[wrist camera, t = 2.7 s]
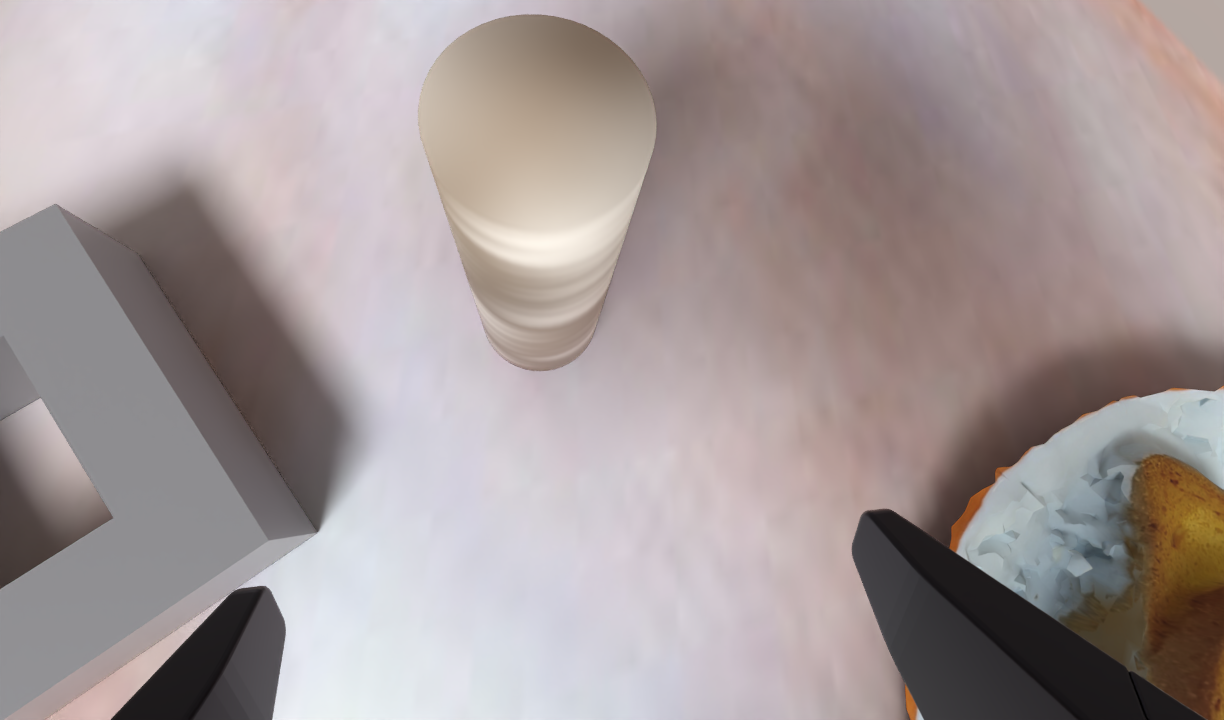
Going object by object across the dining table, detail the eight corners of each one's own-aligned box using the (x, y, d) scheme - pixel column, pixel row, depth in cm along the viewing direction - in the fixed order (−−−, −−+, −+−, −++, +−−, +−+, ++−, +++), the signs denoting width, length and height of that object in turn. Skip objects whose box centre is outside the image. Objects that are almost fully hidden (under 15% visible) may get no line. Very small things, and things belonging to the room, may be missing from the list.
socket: (317, 533, 22) (268, 540, 18) (-52, 785, 19) (-205, 860, 15) (137, 253, 23) (55, 203, 19) (-231, 451, 20) (-414, 441, 16)
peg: (616, 297, 25) (696, 86, 12) (561, 391, 24) (585, 270, 11) (519, 242, 25) (498, -24, 12) (460, 335, 24) (369, 148, 11)
